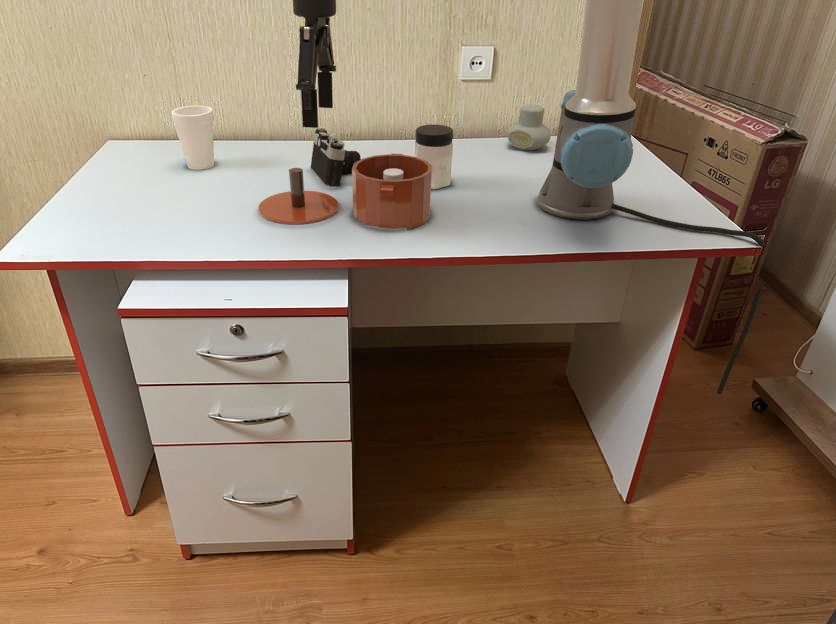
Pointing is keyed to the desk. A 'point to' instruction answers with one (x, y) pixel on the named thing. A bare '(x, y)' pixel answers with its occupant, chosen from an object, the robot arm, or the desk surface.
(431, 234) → the desk surface
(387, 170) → the pill bottle
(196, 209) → the desk surface
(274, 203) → the lid
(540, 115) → the air freshener
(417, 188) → the pot
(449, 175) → the jar
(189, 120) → the foam cup
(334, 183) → the camera
